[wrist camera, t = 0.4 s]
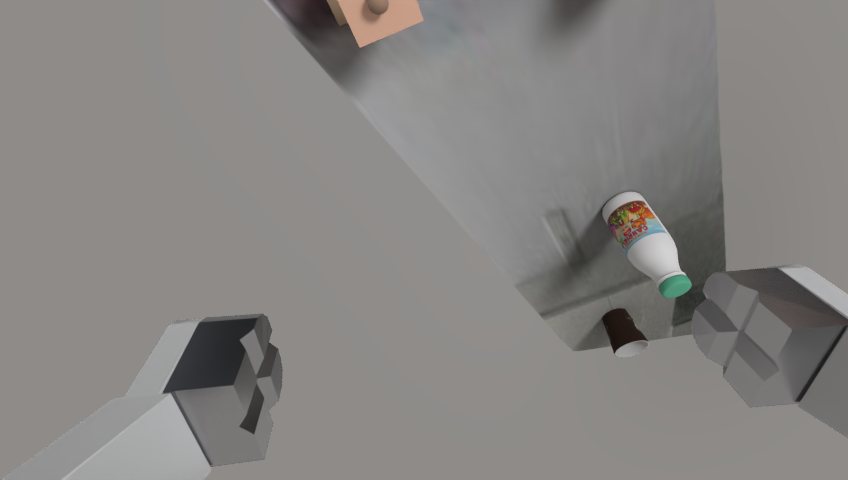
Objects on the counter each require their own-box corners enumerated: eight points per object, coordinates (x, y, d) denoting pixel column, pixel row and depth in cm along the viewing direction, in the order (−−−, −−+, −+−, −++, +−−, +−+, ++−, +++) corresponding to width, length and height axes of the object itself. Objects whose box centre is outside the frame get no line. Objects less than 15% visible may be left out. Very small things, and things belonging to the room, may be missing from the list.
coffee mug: (599, 310, 111) (617, 345, 104) (633, 302, 110) (652, 337, 104) (595, 332, 120) (611, 365, 113) (626, 324, 119) (643, 357, 113)
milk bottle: (649, 191, 80) (713, 276, 67) (627, 220, 85) (682, 304, 72) (614, 188, 78) (672, 275, 65) (593, 218, 83) (643, 304, 70)
